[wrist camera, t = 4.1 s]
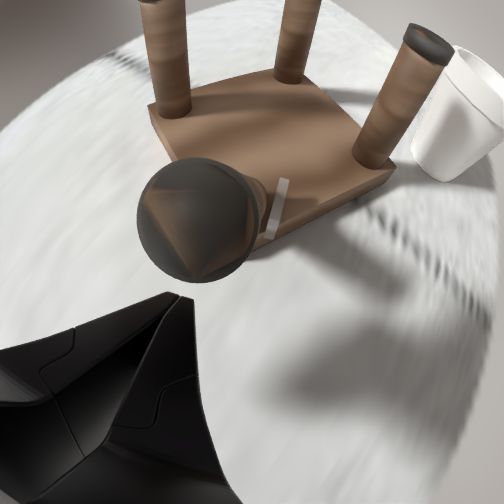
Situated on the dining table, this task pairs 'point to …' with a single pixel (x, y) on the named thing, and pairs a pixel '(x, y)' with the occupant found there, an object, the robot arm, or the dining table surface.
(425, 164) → the foam cup
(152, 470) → the robot arm
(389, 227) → the dining table surface
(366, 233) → the dining table surface
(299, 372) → the dining table surface
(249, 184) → the hinged leg
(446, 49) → the stool
